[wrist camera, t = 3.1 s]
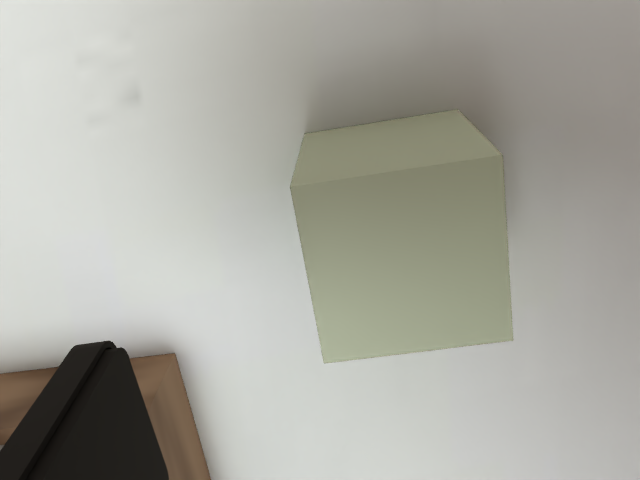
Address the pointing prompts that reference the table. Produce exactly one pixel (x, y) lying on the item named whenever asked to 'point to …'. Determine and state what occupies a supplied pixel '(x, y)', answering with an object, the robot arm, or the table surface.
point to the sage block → (404, 236)
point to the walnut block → (160, 400)
